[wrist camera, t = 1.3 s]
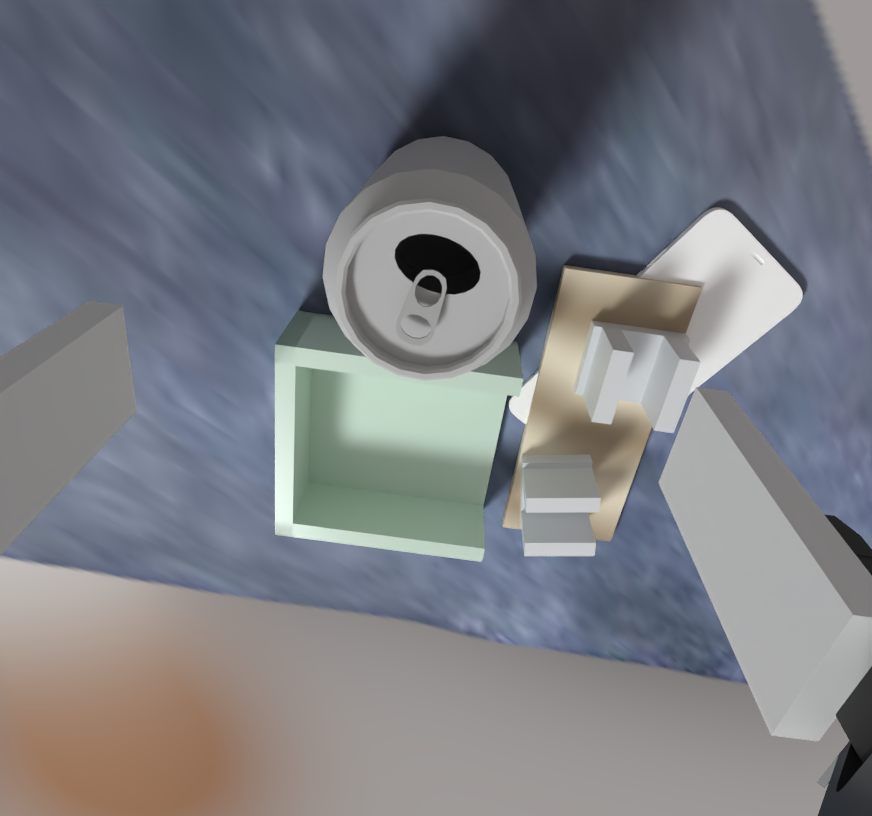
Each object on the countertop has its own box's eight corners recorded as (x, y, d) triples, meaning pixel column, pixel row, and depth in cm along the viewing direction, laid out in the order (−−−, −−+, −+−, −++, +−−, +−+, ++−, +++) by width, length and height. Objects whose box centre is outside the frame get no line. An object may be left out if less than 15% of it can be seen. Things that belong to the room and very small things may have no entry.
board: (563, 264, 31) (565, 268, 31) (698, 284, 31) (702, 287, 31) (502, 520, 40) (502, 527, 39) (608, 534, 40) (610, 541, 39)
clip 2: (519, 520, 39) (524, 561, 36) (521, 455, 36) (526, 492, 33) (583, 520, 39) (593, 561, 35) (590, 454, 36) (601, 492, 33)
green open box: (297, 310, 33) (275, 344, 29) (517, 341, 33) (523, 378, 29) (294, 486, 39) (275, 534, 35) (480, 511, 39) (481, 561, 35)
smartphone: (501, 405, 35) (719, 200, 29) (501, 399, 36) (714, 197, 30) (589, 475, 37) (811, 297, 31) (588, 467, 38) (804, 292, 32)
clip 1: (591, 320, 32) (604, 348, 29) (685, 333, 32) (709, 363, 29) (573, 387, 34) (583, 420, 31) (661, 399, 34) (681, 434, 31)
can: (542, 169, 29) (583, 231, 19) (482, 309, 33) (489, 427, 22) (392, 108, 28) (347, 138, 18) (347, 259, 32) (288, 358, 21)
